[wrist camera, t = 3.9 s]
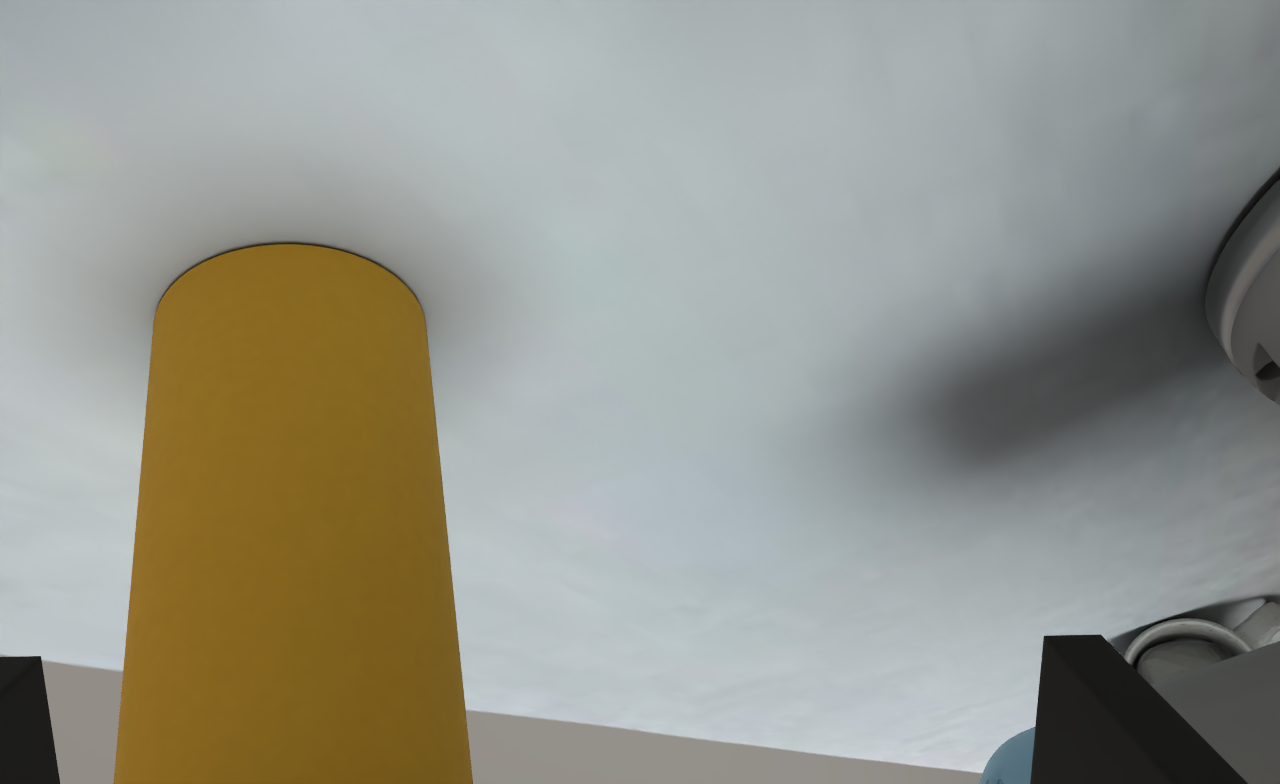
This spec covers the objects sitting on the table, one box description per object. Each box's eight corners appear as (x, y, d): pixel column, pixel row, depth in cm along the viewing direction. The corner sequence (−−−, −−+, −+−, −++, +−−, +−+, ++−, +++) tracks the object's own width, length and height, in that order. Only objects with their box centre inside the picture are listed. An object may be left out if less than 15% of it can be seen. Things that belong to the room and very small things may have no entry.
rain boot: (132, 231, 24) (59, 914, 16) (446, 244, 26) (520, 849, 18) (182, 563, 35) (154, 1049, 27) (394, 552, 38) (425, 999, 30)
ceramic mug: (1108, 677, 69) (1167, 797, 64) (1094, 644, 62) (1158, 776, 58) (1278, 617, 66) (1351, 739, 61) (1281, 577, 59) (1363, 710, 55)
